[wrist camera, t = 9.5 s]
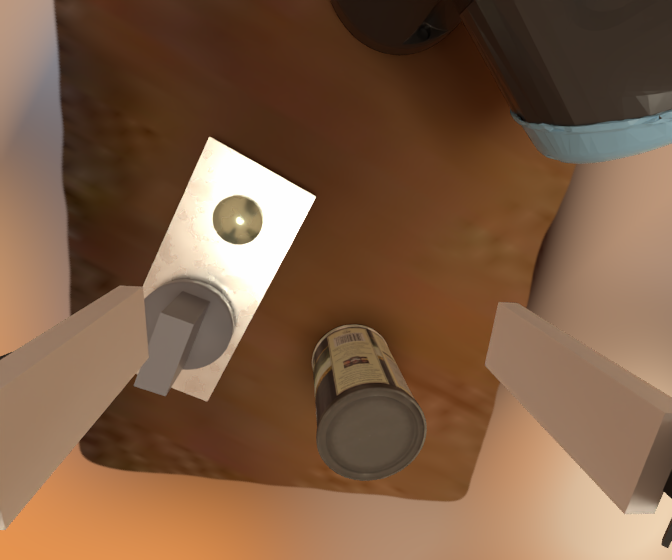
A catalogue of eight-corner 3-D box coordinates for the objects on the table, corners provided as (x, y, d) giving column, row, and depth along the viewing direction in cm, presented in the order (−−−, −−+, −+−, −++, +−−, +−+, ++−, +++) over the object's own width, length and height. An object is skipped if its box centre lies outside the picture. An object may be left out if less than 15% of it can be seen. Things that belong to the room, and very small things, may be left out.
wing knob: (159, 264, 38) (123, 287, 30) (247, 299, 40) (235, 328, 32) (131, 342, 40) (91, 382, 33) (216, 372, 42) (198, 415, 35)
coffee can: (342, 407, 48) (358, 499, 34) (295, 354, 45) (293, 431, 32) (405, 365, 47) (447, 442, 34) (362, 308, 44) (388, 367, 31)
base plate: (214, 138, 37) (206, 135, 34) (315, 195, 40) (316, 197, 37) (117, 354, 43) (103, 368, 40) (211, 392, 45) (204, 407, 42)
